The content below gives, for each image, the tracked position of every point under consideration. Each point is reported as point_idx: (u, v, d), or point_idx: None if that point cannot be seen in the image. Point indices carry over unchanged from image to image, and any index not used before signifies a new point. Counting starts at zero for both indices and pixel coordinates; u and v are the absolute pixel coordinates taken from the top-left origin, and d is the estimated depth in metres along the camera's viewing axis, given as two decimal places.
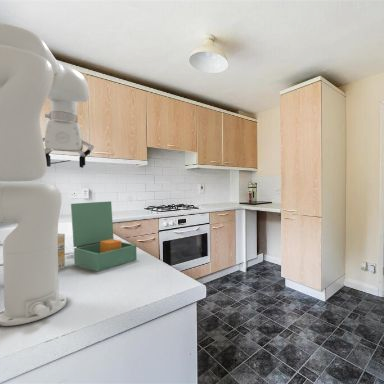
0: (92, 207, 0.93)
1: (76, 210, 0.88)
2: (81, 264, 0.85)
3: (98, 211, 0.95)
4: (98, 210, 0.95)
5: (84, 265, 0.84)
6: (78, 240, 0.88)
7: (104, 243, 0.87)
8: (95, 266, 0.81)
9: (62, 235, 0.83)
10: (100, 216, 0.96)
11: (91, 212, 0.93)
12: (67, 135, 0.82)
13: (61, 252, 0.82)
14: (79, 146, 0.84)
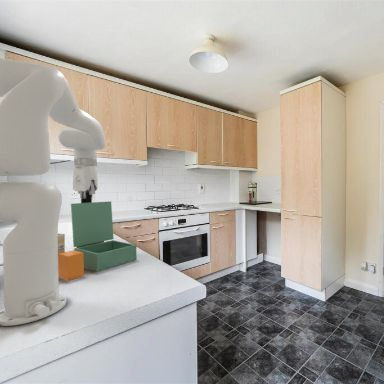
0: (92, 207, 0.93)
1: (76, 210, 0.88)
2: None
3: (98, 211, 0.95)
4: (98, 210, 0.95)
5: (84, 265, 0.84)
6: (78, 240, 0.88)
7: (62, 256, 0.74)
8: (95, 266, 0.81)
9: (62, 235, 0.83)
10: (100, 216, 0.96)
11: (91, 212, 0.93)
12: (80, 178, 0.92)
13: (61, 252, 0.82)
14: (85, 187, 0.91)
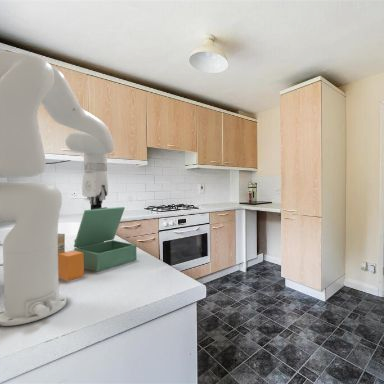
0: (104, 213, 0.89)
1: (87, 217, 0.85)
2: None
3: (108, 217, 0.92)
4: (109, 216, 0.92)
5: (84, 265, 0.84)
6: (80, 242, 0.88)
7: (62, 256, 0.74)
8: (95, 266, 0.81)
9: (62, 235, 0.83)
10: (109, 221, 0.93)
11: (101, 218, 0.90)
12: (90, 183, 0.89)
13: (61, 252, 0.82)
14: (95, 193, 0.88)
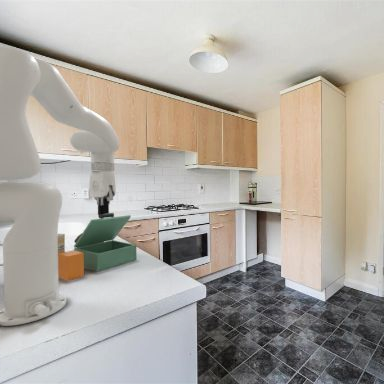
0: (109, 222, 0.88)
1: (93, 225, 0.83)
2: None
3: (113, 224, 0.90)
4: (114, 223, 0.90)
5: (84, 265, 0.84)
6: (80, 243, 0.87)
7: (62, 256, 0.74)
8: (95, 266, 0.81)
9: (62, 235, 0.83)
10: (112, 227, 0.92)
11: (106, 225, 0.88)
12: (97, 183, 0.87)
13: (61, 252, 0.82)
14: (103, 193, 0.85)
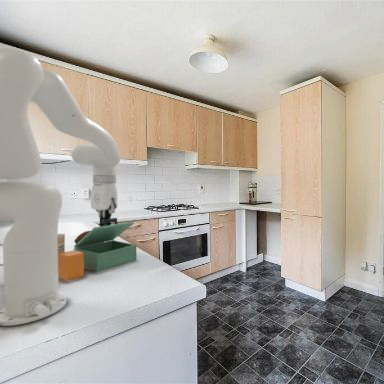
0: (112, 228, 0.87)
1: (95, 232, 0.82)
2: None
3: (115, 229, 0.90)
4: (116, 229, 0.90)
5: (84, 265, 0.84)
6: (81, 244, 0.87)
7: (62, 256, 0.74)
8: (95, 266, 0.81)
9: (62, 235, 0.83)
10: (114, 231, 0.91)
11: (108, 231, 0.88)
12: (99, 196, 0.86)
13: (61, 252, 0.82)
14: (105, 206, 0.85)
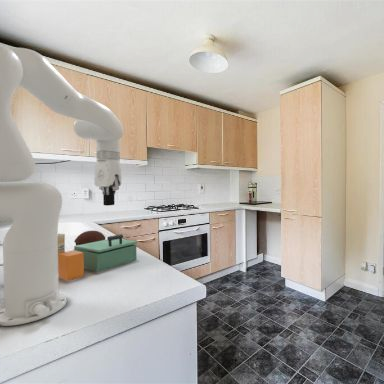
0: None
1: None
2: None
3: None
4: None
5: (84, 265, 0.84)
6: None
7: (62, 256, 0.74)
8: (95, 266, 0.81)
9: (62, 235, 0.83)
10: None
11: None
12: (103, 172, 0.85)
13: (61, 252, 0.82)
14: (109, 182, 0.84)
